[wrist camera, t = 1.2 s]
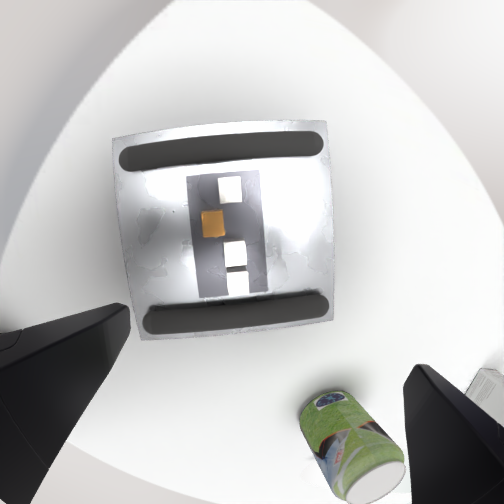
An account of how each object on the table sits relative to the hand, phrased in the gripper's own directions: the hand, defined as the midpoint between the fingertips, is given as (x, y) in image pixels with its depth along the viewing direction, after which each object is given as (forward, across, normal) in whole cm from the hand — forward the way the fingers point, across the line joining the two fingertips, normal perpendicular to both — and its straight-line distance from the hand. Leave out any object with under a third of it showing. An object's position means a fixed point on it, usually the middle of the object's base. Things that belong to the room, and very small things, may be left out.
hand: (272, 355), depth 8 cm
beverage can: (+14, -8, +16) cm, 23 cm away
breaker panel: (+13, +4, 0) cm, 14 cm away
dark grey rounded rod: (+10, +2, +5) cm, 12 cm away
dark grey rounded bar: (+11, +5, -5) cm, 13 cm away
